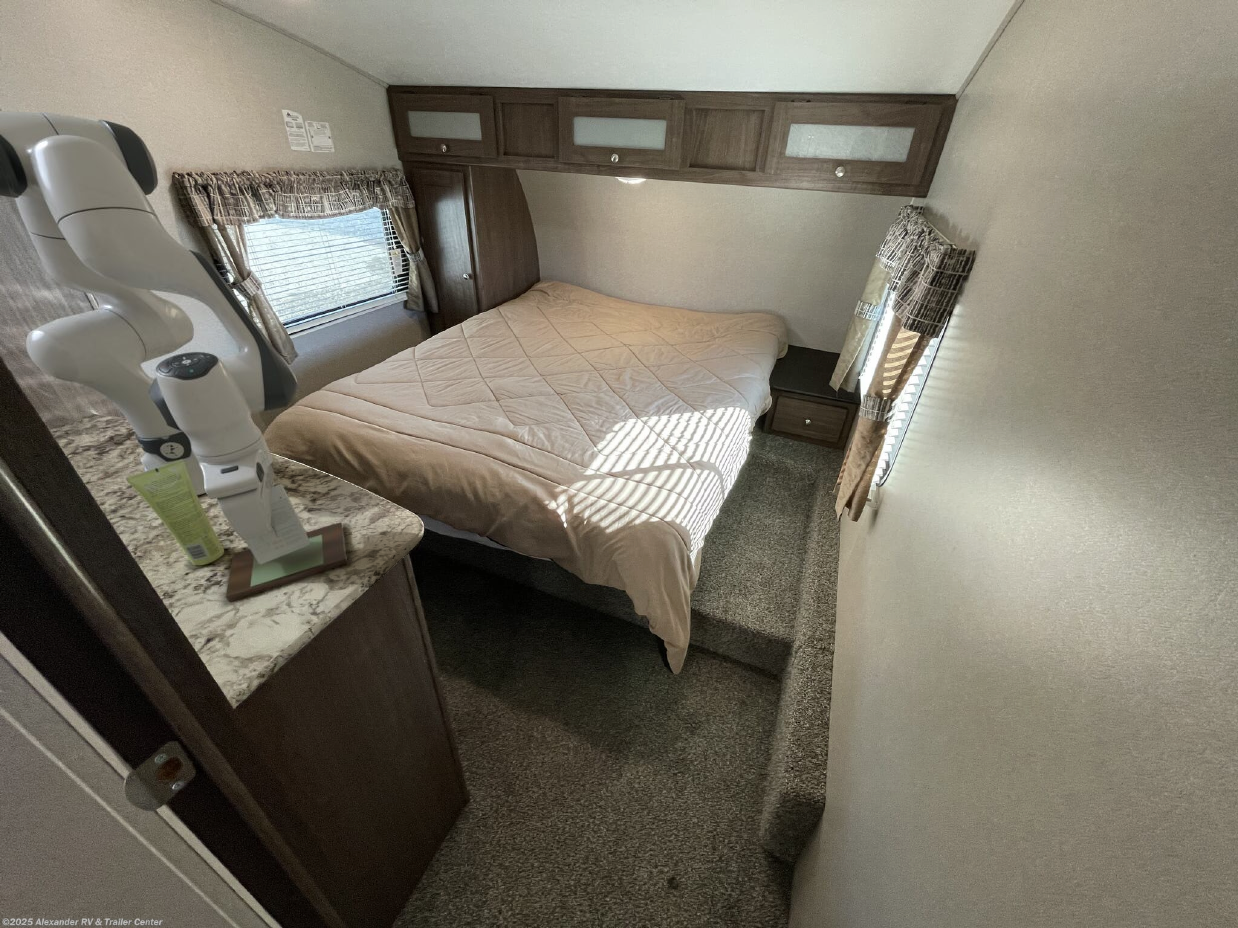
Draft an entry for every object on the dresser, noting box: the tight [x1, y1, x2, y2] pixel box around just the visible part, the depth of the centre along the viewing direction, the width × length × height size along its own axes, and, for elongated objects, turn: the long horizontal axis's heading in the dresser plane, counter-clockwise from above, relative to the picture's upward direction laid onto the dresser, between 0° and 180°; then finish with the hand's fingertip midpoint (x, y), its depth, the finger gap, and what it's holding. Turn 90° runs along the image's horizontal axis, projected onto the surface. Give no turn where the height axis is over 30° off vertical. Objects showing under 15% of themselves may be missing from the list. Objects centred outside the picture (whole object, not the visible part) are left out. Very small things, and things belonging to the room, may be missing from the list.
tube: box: [125, 459, 225, 566], centre depth 85 cm, size 6×5×20 cm
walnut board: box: [225, 522, 348, 603], centre depth 89 cm, size 12×18×1 cm, turn 119°
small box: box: [243, 483, 310, 564], centre depth 83 cm, size 8×6×10 cm
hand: (272, 526), depth 84 cm, fingers closed on small box, 6 cm apart
